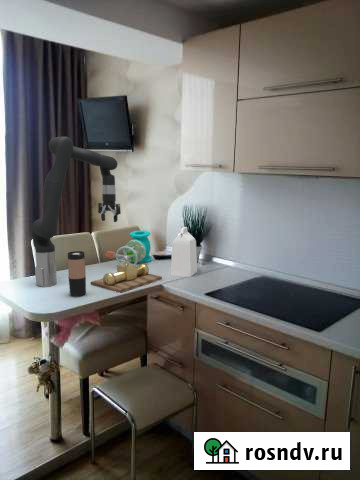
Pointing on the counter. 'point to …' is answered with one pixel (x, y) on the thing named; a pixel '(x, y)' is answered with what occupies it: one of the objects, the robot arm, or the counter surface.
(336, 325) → the counter surface
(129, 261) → the valve
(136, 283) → the mounting board
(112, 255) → the valve lever
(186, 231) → the milk
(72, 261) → the travel mug
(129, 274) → the brass valve
